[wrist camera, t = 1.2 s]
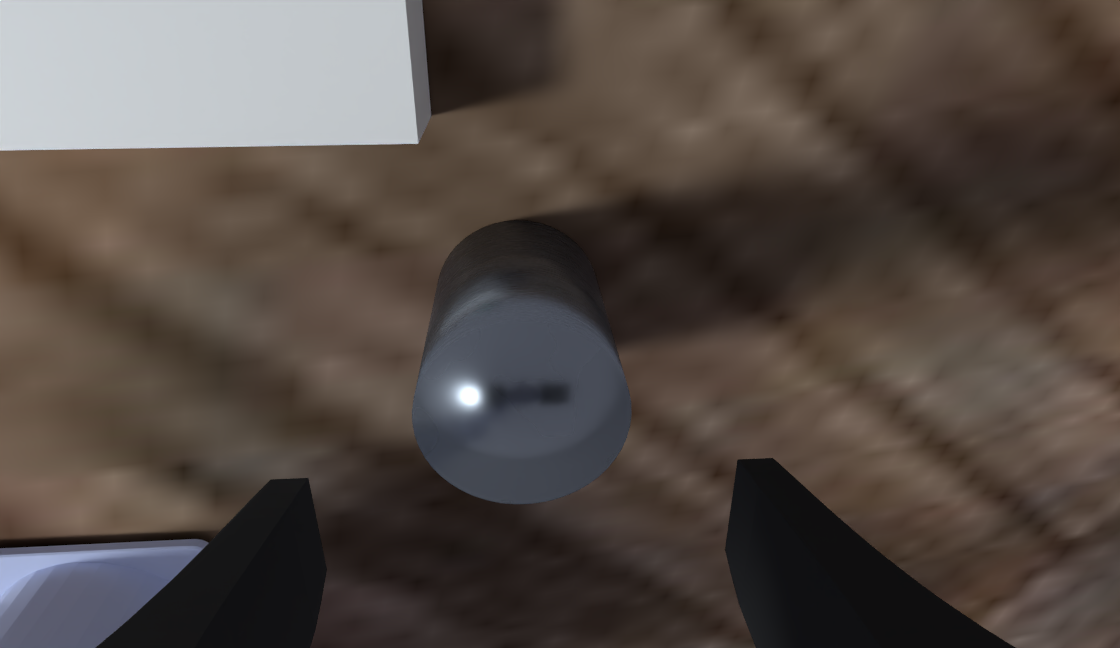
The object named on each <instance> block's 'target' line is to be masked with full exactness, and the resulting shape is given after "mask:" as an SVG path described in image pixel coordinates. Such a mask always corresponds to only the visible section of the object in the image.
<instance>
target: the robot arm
mask: <svg viewBox="0 0 1120 648" xmlns="http://www.w3.org/2000/svg"><path fill="white" fill-rule="evenodd" d="M725 551H726V555H727V559H728V563H729V567H730V571H731V575H732V579H733V583H734V587H735V590H736V594H737V598H738V601H739V605H740V608H741V610H742V613H743V616H744V618H745V621H746V623H747V626H748V629H749V631H750V634H751V636H752V639H753V641H754V644H755V646H756V648H1015V647H1014V646H1012V645H1010V644H1008V643H1007V642H1005V641H1004V640H1002V639H1000V638H999V637H997V636H996V635H994V634H993V633H991V632H989V631H988V630H986V629H985V628H983V627H981V626H980V625H979V624H977V623H976V622H974V621H973V620H971V619H970V618H968V617H967V616H965V615H964V614H962V613H961V612H959V611H958V610H956V609H955V608H953V607H952V606H950V605H949V604H947V603H946V602H944V601H943V600H942V599H940V598H939V597H937V596H936V595H935V594H933V593H932V592H930V591H929V590H928V589H926V588H925V587H924V586H922V585H921V584H919V583H918V582H917V581H916V580H914V579H913V578H912V577H910V576H909V575H908V574H907V573H905V572H904V571H903V570H901V569H900V568H899V567H897V566H896V565H895V564H894V563H892V562H891V561H890V560H888V559H887V558H886V557H885V556H883V555H882V554H881V553H880V552H879V551H877V550H876V549H875V548H874V547H872V546H871V545H870V544H869V543H868V542H866V541H865V540H864V539H863V538H862V537H860V536H859V535H858V534H857V533H856V532H855V531H853V530H852V529H851V528H850V527H849V526H848V525H846V524H845V523H844V522H843V521H842V520H841V519H840V518H838V517H837V516H836V515H835V514H834V513H833V512H832V511H831V510H829V509H828V508H827V507H826V506H825V505H824V504H823V503H822V502H821V501H819V500H818V499H817V498H816V497H815V496H814V495H813V494H812V493H811V492H810V491H808V490H807V489H806V488H805V487H804V486H803V485H802V484H801V483H800V482H799V481H798V480H796V479H795V478H794V477H793V476H792V475H791V474H790V473H789V472H788V471H787V470H786V469H784V468H783V467H782V466H781V465H780V464H779V463H778V462H777V461H775V460H774V459H773V458H765V459H742V460H738V461H737V468H736V475H735V482H734V490H733V497H732V504H731V511H730V518H729V525H728V533H727V540H726V547H725ZM326 571H327V569H326V564H325V559H324V554H323V549H322V544H321V539H320V534H319V529H318V524H317V519H316V514H315V509H314V504H313V499H312V494H311V489H310V484H309V479H308V478H298V479H275V480H270V481H269V482H268V483H267V484H266V485H265V486H264V487H263V488H262V489H261V490H260V491H259V492H258V493H257V494H256V495H255V496H254V497H253V498H252V499H251V500H250V501H249V502H248V503H247V504H246V505H245V506H244V507H243V508H242V509H241V510H240V511H239V512H238V514H237V515H236V516H235V517H234V518H233V519H232V520H231V521H230V522H229V523H228V524H227V525H226V526H225V527H224V528H223V529H222V530H221V531H220V532H219V533H218V534H217V535H216V536H215V537H214V538H213V539H212V540H211V541H210V542H209V543H208V542H207V541H204V540H201V539H184V540H163V541H142V542H122V543H101V544H80V545H60V546H39V547H19V548H0V648H310V645H311V642H312V639H313V635H314V632H315V629H316V624H317V619H318V614H319V609H320V604H321V599H322V593H323V588H324V582H325V577H326Z"/></svg>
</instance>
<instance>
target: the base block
mask: <svg viewBox="0 0 1120 648" xmlns="http://www.w3.org/2000/svg"><path fill="white" fill-rule="evenodd" d="M430 118H431V106H430V94H429V81H428V69H427V56H426V44H425V31H424V19H423V6H422V0H0V150H55V149H118V148H180V147H243V146H305V145H367V144H418V143H419V141H420V139H421V137H422V135H423V132H424V130H425V128H426V126H427V124H428V122H429V120H430Z"/></svg>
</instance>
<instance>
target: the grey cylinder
mask: <svg viewBox="0 0 1120 648" xmlns="http://www.w3.org/2000/svg"><path fill="white" fill-rule="evenodd" d="M630 421H631V400H630V394H629V390H628V386H627V383H626V379H625V376H624V373H623V369H622V366H621V362H620V359H619V355H618V352H617V348H616V345H615V341H614V338H613V335H612V331H611V328H610V324H609V321H608V317H607V314H606V310H605V307H604V303H603V300H602V297H601V293H600V290H599V286H598V283H597V279H596V276H595V273H594V270H593V267H592V265H591V263H590V261H589V259H588V257H587V256H586V255H585V253H584V252H583V250H582V249H581V248H580V247H579V246H578V245H577V244H576V243H575V242H574V241H573V240H572V239H570V238H569V237H568V236H567V235H565V234H563V233H562V232H560V231H558V230H556V229H554V228H552V227H550V226H547V225H544V224H541V223H537V222H531V221H519V220H514V221H504V222H499V223H494V224H491V225H489V226H486V227H483V228H481V229H479V230H477V231H475V232H473V233H472V234H470V235H469V236H467V237H466V238H465V239H463V240H462V241H461V242H460V243H459V244H458V245H457V246H456V247H455V248H454V249H453V251H452V252H451V253H450V255H449V256H448V258H447V259H446V261H445V263H444V265H443V267H442V270H441V272H440V276H439V279H438V284H437V289H436V294H435V298H434V303H433V308H432V313H431V318H430V323H429V328H428V332H427V337H426V342H425V347H424V352H423V357H422V362H421V366H420V371H419V376H418V381H417V386H416V391H415V395H414V401H413V409H412V422H413V428H414V434H415V437H416V440H417V443H418V445H419V448H420V450H421V451H422V453H423V455H424V457H425V458H426V460H427V461H428V462H429V464H430V465H431V466H432V468H433V469H434V470H435V471H436V472H437V473H438V474H439V475H440V476H441V477H443V478H444V479H445V480H446V481H448V482H449V483H450V484H452V485H453V486H455V487H457V488H458V489H460V490H462V491H464V492H466V493H468V494H470V495H473V496H475V497H479V498H482V499H485V500H489V501H493V502H498V503H507V504H532V503H540V502H545V501H550V500H554V499H557V498H560V497H564V496H566V495H568V494H571V493H573V492H575V491H577V490H579V489H581V488H583V487H584V486H586V485H588V484H589V483H591V482H592V481H593V480H595V479H596V478H597V477H599V476H600V475H601V474H602V473H603V472H604V471H605V470H606V469H607V468H608V467H609V466H610V465H611V463H612V462H613V461H614V460H615V458H616V457H617V455H618V454H619V452H620V451H621V449H622V447H623V445H624V442H625V440H626V438H627V435H628V431H629V428H630Z"/></svg>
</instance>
